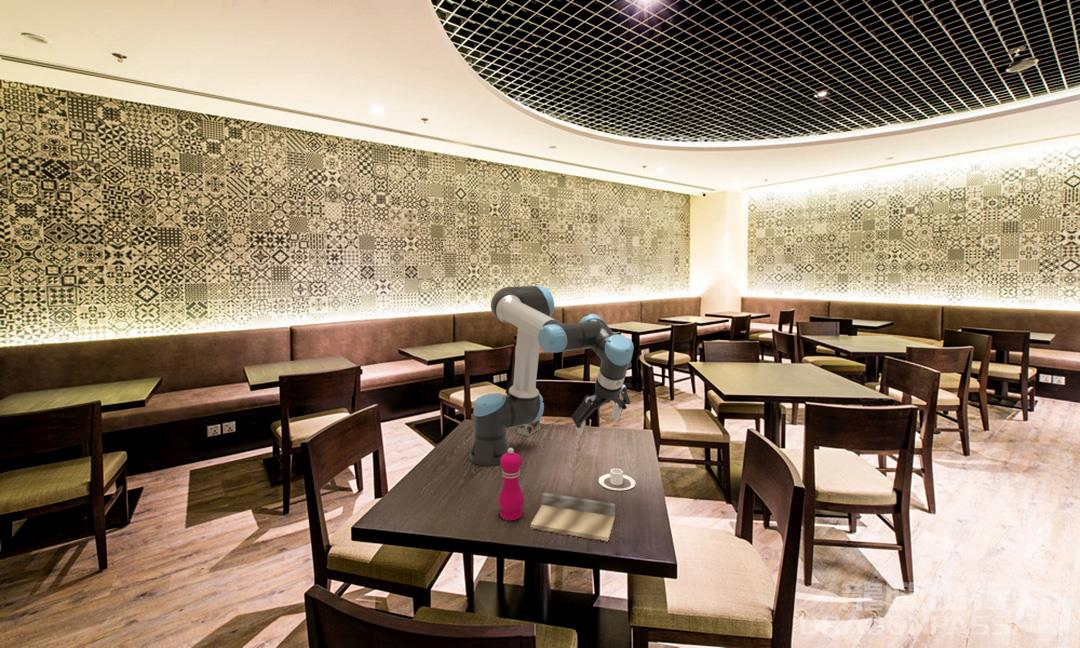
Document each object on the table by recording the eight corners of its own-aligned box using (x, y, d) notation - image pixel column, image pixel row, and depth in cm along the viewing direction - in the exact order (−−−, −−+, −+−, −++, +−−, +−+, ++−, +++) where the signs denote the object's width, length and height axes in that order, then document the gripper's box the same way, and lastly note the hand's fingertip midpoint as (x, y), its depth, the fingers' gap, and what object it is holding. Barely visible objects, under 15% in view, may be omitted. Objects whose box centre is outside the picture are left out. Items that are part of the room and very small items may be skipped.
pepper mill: (527, 510, 130) (527, 444, 128) (518, 524, 123) (517, 454, 121) (504, 506, 133) (504, 441, 130) (494, 519, 126) (493, 451, 124)
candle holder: (643, 486, 146) (643, 473, 145) (615, 496, 140) (615, 482, 139) (618, 472, 156) (618, 460, 155) (591, 481, 150) (591, 468, 149)
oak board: (530, 529, 121) (530, 513, 121) (543, 507, 132) (543, 492, 132) (608, 543, 115) (608, 526, 114) (614, 518, 126) (615, 503, 126)
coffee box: (529, 436, 189) (529, 399, 187) (516, 433, 193) (516, 397, 191) (540, 430, 197) (540, 394, 195) (528, 427, 200) (528, 392, 198)
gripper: (579, 403, 122) (568, 447, 136) (652, 378, 132) (635, 421, 146) (566, 383, 127) (557, 428, 141) (637, 360, 136) (622, 404, 150)
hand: (597, 424), depth 143 cm, fingers open, 13 cm apart
